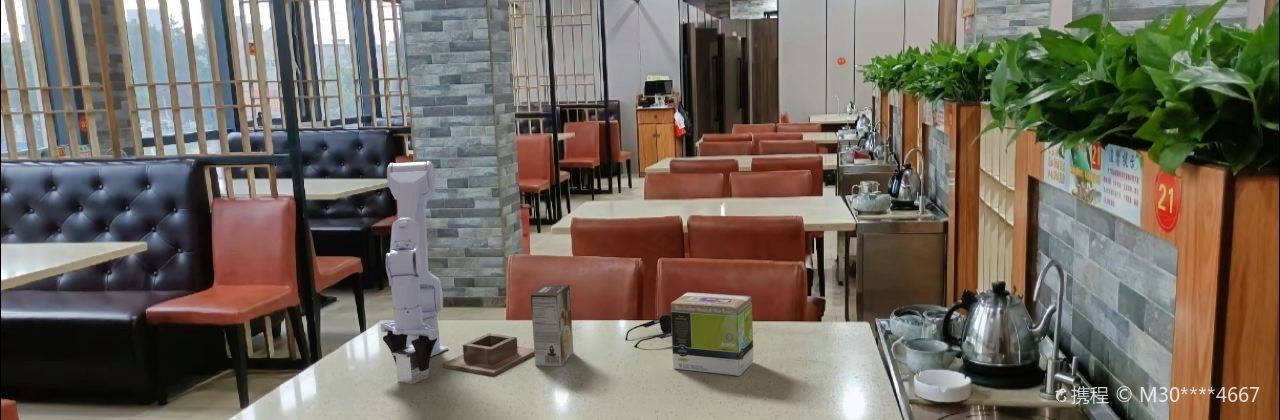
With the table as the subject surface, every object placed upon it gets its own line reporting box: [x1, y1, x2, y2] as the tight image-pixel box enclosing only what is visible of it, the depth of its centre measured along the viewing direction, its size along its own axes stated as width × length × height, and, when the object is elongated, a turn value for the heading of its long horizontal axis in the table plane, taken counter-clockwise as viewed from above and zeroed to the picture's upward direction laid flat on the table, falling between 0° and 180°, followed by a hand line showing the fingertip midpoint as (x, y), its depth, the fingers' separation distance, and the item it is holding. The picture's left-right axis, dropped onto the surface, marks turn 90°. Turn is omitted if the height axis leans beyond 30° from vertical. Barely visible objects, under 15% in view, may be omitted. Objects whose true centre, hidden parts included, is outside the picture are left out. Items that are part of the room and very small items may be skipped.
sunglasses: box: [624, 314, 672, 348], centre depth 203 cm, size 10×12×5 cm
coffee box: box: [530, 284, 574, 367], centre depth 191 cm, size 9×6×16 cm
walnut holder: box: [442, 332, 535, 377], centre depth 193 cm, size 14×16×4 cm
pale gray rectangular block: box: [392, 345, 430, 385], centre depth 183 cm, size 4×7×7 cm, turn 151°
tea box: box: [670, 291, 754, 377], centre depth 183 cm, size 15×10×15 cm
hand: (412, 367), depth 183 cm, fingers open, 6 cm apart
